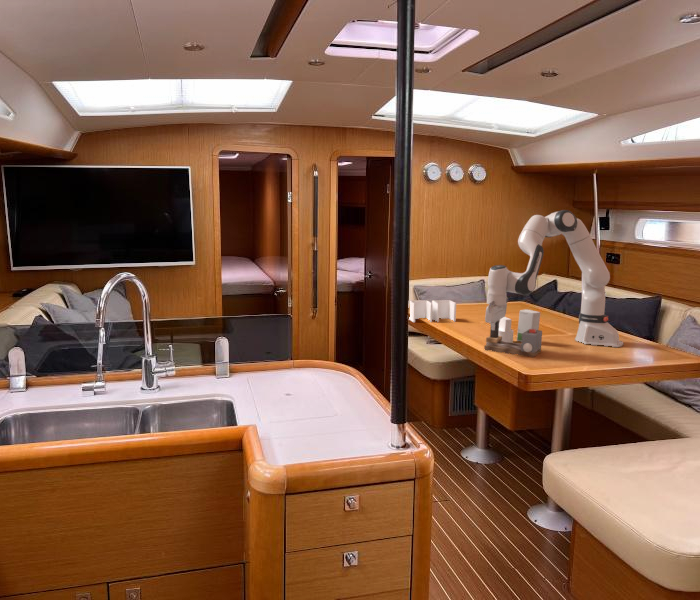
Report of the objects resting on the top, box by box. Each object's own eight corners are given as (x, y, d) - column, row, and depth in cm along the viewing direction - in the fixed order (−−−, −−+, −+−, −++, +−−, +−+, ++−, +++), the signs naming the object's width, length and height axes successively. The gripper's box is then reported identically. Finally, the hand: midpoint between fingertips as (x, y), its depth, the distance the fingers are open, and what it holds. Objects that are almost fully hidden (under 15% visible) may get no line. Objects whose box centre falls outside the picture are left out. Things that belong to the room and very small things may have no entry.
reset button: (535, 336, 285) (536, 329, 285) (534, 337, 283) (534, 330, 282) (529, 335, 286) (530, 328, 286) (528, 336, 284) (528, 329, 284)
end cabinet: (540, 351, 289) (542, 330, 288) (533, 357, 279) (535, 335, 277) (527, 350, 292) (529, 329, 291) (520, 355, 282) (521, 333, 280)
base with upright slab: (515, 343, 306) (517, 319, 304) (498, 343, 304) (500, 319, 302) (507, 339, 315) (509, 316, 313) (491, 339, 313) (492, 316, 311)
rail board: (540, 351, 289) (541, 345, 289) (533, 357, 279) (534, 350, 279) (492, 345, 301) (492, 338, 300) (484, 349, 291) (484, 343, 290)
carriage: (501, 340, 296) (502, 321, 295) (496, 343, 289) (497, 324, 288) (491, 339, 299) (492, 320, 297) (486, 342, 292) (487, 323, 290)
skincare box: (516, 341, 311) (518, 310, 309) (524, 339, 316) (526, 309, 313) (530, 344, 305) (533, 312, 303) (538, 342, 309) (540, 311, 307)
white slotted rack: (449, 318, 368) (450, 300, 367) (455, 322, 358) (456, 303, 356) (408, 319, 364) (408, 300, 362) (413, 322, 353) (414, 303, 351)
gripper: (496, 303, 281) (494, 333, 283) (509, 298, 298) (507, 326, 300) (482, 302, 284) (480, 332, 286) (496, 296, 301) (494, 325, 303)
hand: (494, 329), depth 293 cm, fingers closed on carriage, 3 cm apart
